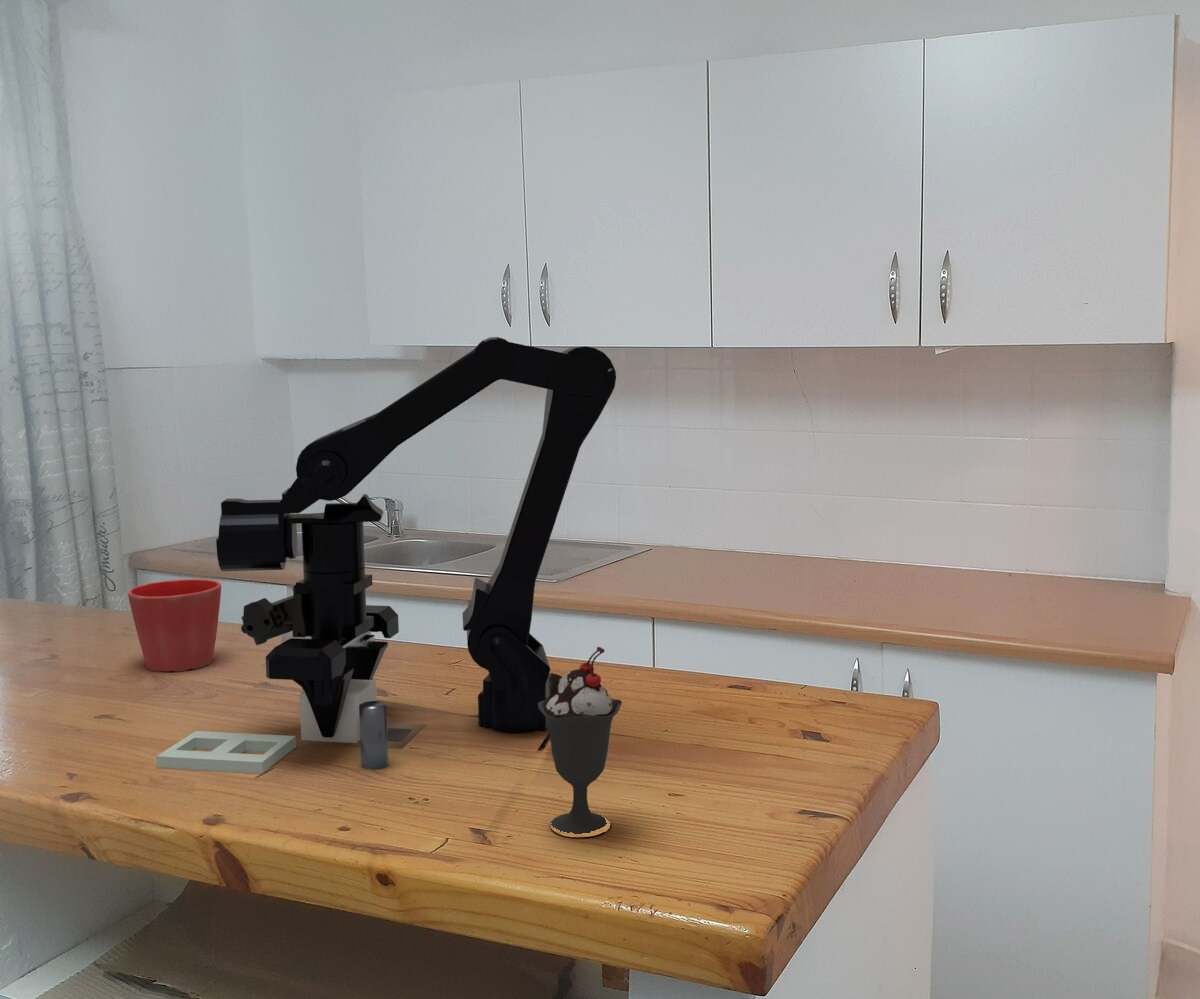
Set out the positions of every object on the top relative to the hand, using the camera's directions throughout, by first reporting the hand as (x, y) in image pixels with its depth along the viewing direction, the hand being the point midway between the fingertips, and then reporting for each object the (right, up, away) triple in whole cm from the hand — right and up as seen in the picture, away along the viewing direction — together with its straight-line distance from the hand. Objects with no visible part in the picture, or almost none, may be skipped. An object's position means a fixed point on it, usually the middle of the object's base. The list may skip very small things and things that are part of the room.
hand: (340, 727), depth 113 cm
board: (+2, -2, 0) cm, 3 cm away
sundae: (+24, -5, -19) cm, 31 cm away
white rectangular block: (0, -1, 0) cm, 0 cm away
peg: (+5, -3, -9) cm, 10 cm away
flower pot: (-27, +1, +31) cm, 41 cm away
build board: (-9, -3, -6) cm, 11 cm away
